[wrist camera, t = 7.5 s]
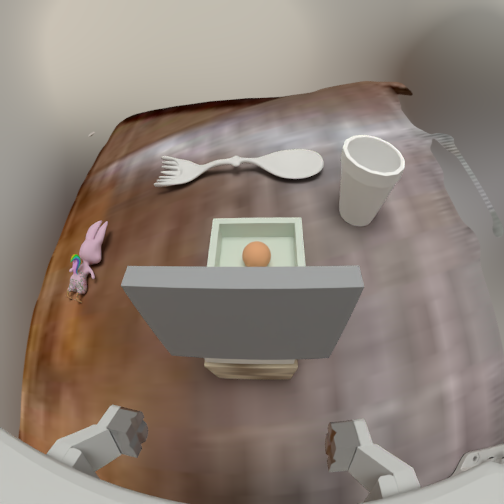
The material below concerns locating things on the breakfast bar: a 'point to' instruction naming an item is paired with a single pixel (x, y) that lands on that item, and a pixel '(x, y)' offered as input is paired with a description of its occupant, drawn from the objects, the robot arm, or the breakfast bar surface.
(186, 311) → the lever flap
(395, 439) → the breakfast bar surface
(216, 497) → the breakfast bar surface
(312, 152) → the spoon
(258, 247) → the ball
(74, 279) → the rabbit figure
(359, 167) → the foam cup
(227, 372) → the stand
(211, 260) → the tray
